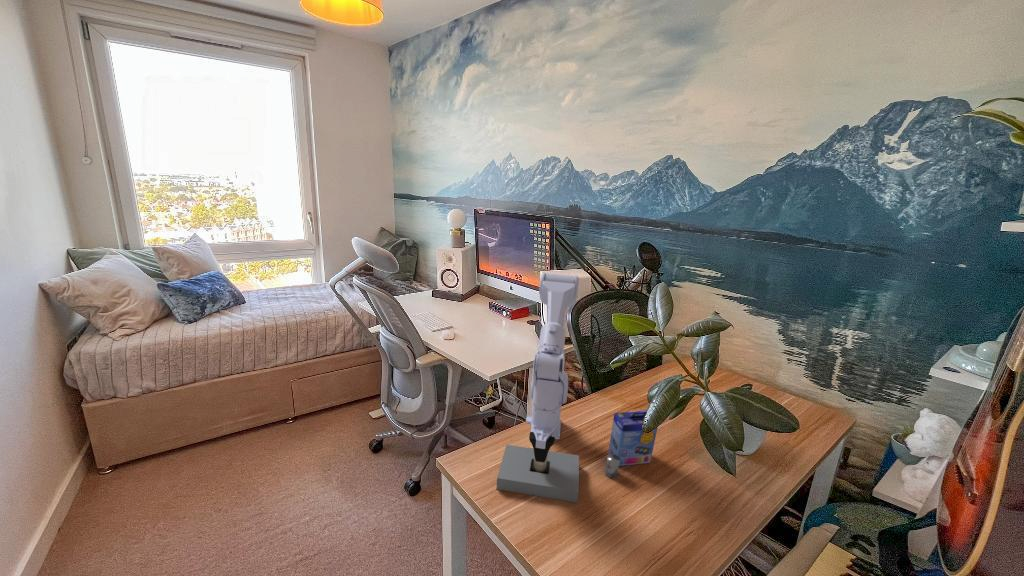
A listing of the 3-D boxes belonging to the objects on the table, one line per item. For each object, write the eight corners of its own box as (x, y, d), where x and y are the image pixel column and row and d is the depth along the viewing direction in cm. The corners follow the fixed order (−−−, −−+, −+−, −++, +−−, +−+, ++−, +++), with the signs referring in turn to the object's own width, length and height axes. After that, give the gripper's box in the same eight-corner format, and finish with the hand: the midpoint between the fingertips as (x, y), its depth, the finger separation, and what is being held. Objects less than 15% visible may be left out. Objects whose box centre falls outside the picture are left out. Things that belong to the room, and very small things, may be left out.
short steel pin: (604, 469, 101) (606, 453, 100) (617, 470, 100) (619, 455, 99) (605, 477, 98) (607, 461, 97) (618, 479, 97) (620, 463, 96)
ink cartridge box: (616, 468, 101) (624, 416, 97) (606, 453, 106) (613, 403, 103) (652, 463, 104) (661, 413, 100) (641, 449, 109) (649, 401, 105)
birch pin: (534, 462, 98) (536, 433, 96) (546, 464, 97) (549, 435, 95) (532, 470, 95) (534, 440, 93) (545, 473, 94) (548, 443, 92)
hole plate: (505, 454, 104) (506, 444, 103) (577, 466, 101) (579, 455, 100) (496, 489, 92) (497, 477, 91) (577, 502, 90) (578, 491, 89)
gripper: (531, 385, 99) (527, 434, 103) (523, 419, 85) (519, 474, 89) (560, 389, 98) (555, 438, 102) (557, 424, 84) (551, 479, 88)
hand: (540, 455), depth 95 cm, fingers closed on birch pin, 3 cm apart
